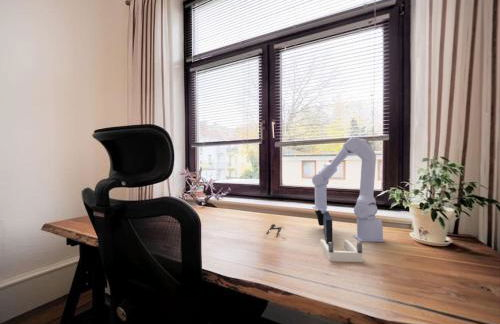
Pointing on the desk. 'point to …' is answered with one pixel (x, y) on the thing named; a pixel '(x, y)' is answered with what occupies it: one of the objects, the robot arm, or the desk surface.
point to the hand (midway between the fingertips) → (321, 225)
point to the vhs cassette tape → (327, 227)
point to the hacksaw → (275, 228)
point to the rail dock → (343, 252)
